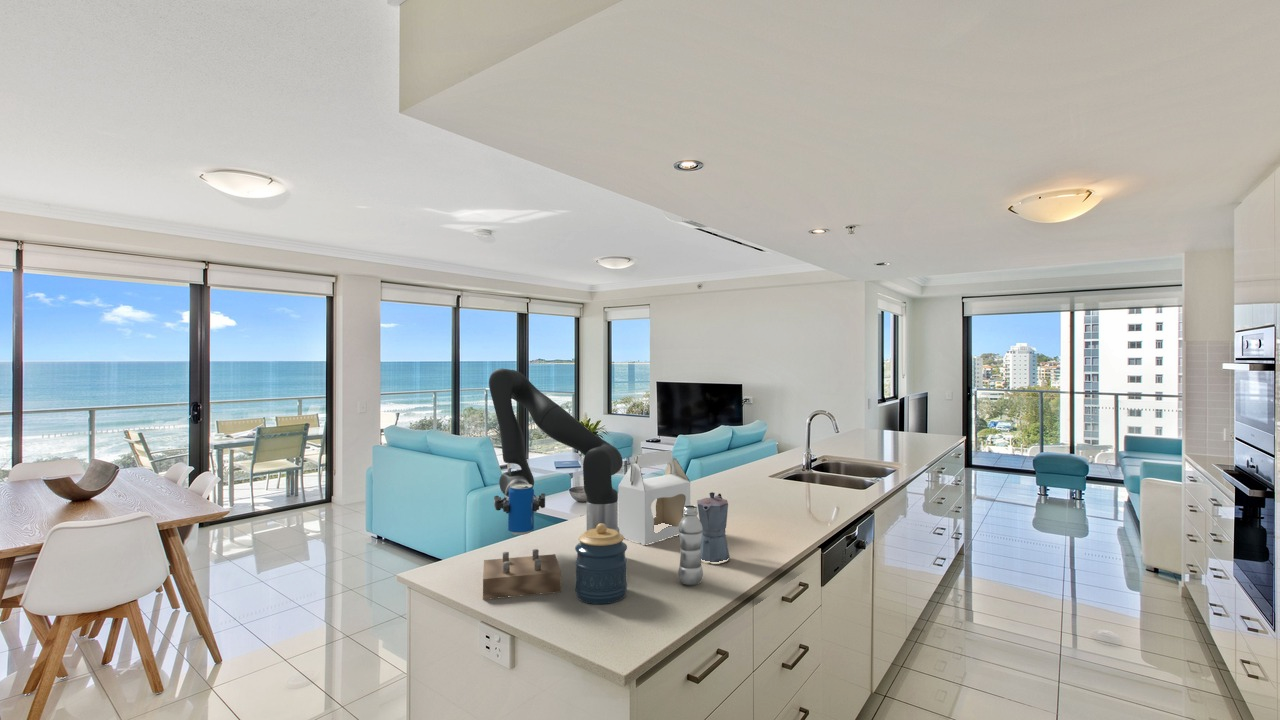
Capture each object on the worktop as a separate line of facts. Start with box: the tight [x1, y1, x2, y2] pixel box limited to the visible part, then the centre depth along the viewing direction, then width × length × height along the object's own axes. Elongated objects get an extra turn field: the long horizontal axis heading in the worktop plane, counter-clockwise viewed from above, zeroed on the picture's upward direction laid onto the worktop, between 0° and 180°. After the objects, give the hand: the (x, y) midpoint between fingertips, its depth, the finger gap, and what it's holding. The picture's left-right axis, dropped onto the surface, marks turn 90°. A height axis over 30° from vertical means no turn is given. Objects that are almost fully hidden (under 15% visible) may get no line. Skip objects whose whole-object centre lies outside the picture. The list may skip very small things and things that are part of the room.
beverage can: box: [507, 484, 535, 536], centre depth 146 cm, size 6×6×12 cm
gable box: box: [617, 449, 691, 546], centre depth 190 cm, size 22×13×28 cm, turn 133°
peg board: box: [482, 549, 562, 600], centre depth 146 cm, size 19×14×8 cm
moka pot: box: [696, 491, 730, 562], centre depth 166 cm, size 10×15×20 cm, turn 158°
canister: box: [574, 523, 628, 605], centre depth 140 cm, size 13×13×18 cm
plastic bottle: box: [677, 504, 704, 586], centre depth 147 cm, size 6×7×20 cm
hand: (521, 508), depth 144 cm, fingers closed on beverage can, 6 cm apart
